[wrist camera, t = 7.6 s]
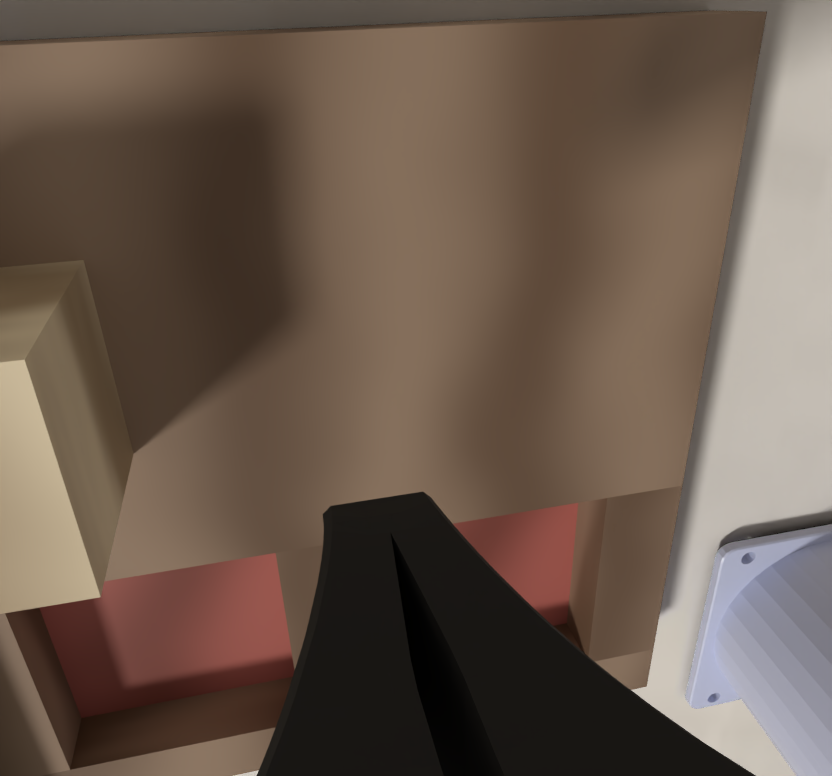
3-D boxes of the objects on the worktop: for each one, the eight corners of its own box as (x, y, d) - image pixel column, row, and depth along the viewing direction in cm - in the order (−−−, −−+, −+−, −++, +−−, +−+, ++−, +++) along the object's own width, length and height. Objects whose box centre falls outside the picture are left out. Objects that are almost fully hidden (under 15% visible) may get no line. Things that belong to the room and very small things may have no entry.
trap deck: (711, 10, 16) (818, 13, 13) (619, 640, 26) (669, 725, 23) (-373, 57, 13) (-564, 75, 10) (-14, 768, 22) (-54, 888, 19)
